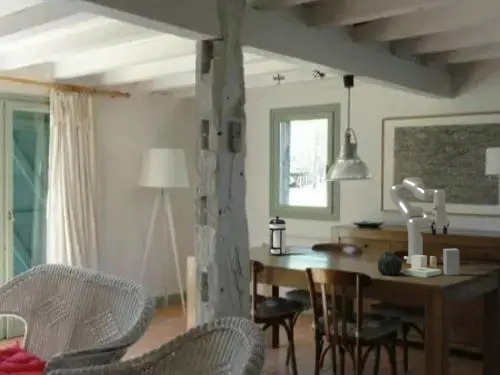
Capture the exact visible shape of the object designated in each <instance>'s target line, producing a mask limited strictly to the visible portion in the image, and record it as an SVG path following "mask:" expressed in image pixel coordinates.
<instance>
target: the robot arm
mask: <svg viewBox="0 0 500 375" xmlns="http://www.w3.org/2000/svg"><path fill="white" fill-rule="evenodd" d="M413 195H414V197H415V198H416V199H419V200H420V201H426V202H427V201H432V202H433V203H432V204H433V207H432V214H431V218H430V216H429V214H427V211H426V210H425V209H424V208H423V207H421V206H419V205H418V206H416V205H415V206H413V205H411V204H410V203H409V201H408V199H406V198H405V197H412V196H413ZM389 196H390V199H391V201H392V202H393V204H394V205H395V206H396V207H397V209H398V210H399V212H400V214H401V216H402V217H403V219H405V220H407V221H406V228H407V236H408V237H407V239H408V245H407V246H408V248H407V250H408V251H407V252H408V255H407V256H406V255H405V256H403V259H404V260H405V261H406V264H409V265H411V256H412V255H424V253H423V250H424V249H423V247H424V246H423V236H422V234H421V232H426V231H430V230H431V236H436V234H437V229H436V228H437V227H442V234H443V235H446V236H447V235H448V229H449V227H450V223H451V221H450V220H448V218H449V217H448V213H447V210H446V191H445V190H444V189H436V188H435V189H434V188H426V189H425V185H424V180H423V179H422V178H421V177H417V176H416V177H413V176H412V177H406V178H404V179H403V180H402V183H401V184H395V185H392V186H391V187H390V189H389Z"/></svg>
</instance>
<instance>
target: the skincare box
mask: <svg viewBox="0 0 500 375" xmlns="http://www.w3.org/2000/svg"><path fill="white" fill-rule="evenodd" d="M442 252H443V253H442V256H443V260H442V261H443V264H442V265H443V266H442V268H443V274H444V275H446V276H457V275H458V276H459V275H460V249H458V248H454V247H453V248H443V249H442Z"/></svg>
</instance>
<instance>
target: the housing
mask: <svg viewBox="0 0 500 375" xmlns="http://www.w3.org/2000/svg"><path fill="white" fill-rule="evenodd" d="M410 266H411V268H415V267H423V268H428V255H424V254H423V255H412V256H411V264H410Z"/></svg>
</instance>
